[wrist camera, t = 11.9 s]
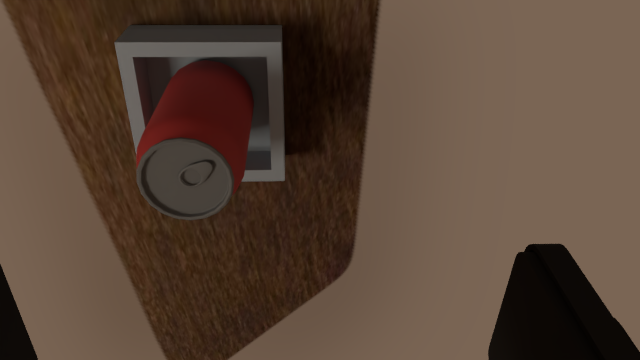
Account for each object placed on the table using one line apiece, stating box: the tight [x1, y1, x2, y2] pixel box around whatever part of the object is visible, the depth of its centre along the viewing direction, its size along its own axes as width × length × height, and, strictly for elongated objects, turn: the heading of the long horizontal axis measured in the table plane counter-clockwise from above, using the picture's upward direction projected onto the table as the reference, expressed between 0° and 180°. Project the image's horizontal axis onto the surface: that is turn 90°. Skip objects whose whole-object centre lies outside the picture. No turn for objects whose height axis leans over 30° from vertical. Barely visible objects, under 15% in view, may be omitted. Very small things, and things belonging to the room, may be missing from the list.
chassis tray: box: [114, 25, 285, 181], centre depth 40 cm, size 11×11×4 cm
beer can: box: [137, 60, 254, 220], centre depth 36 cm, size 7×7×12 cm
